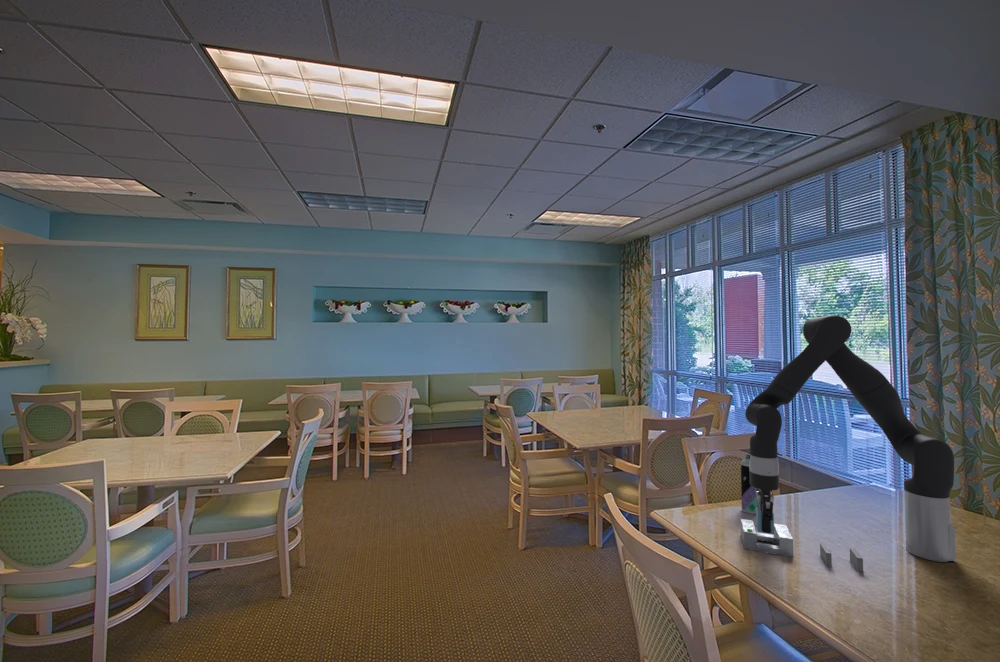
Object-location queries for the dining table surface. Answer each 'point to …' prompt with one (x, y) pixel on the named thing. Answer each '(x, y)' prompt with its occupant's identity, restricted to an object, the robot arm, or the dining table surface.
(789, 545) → the block
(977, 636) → the dining table surface
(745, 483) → the spray can
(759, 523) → the plug
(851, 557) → the gray parallel plates
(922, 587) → the dining table surface
